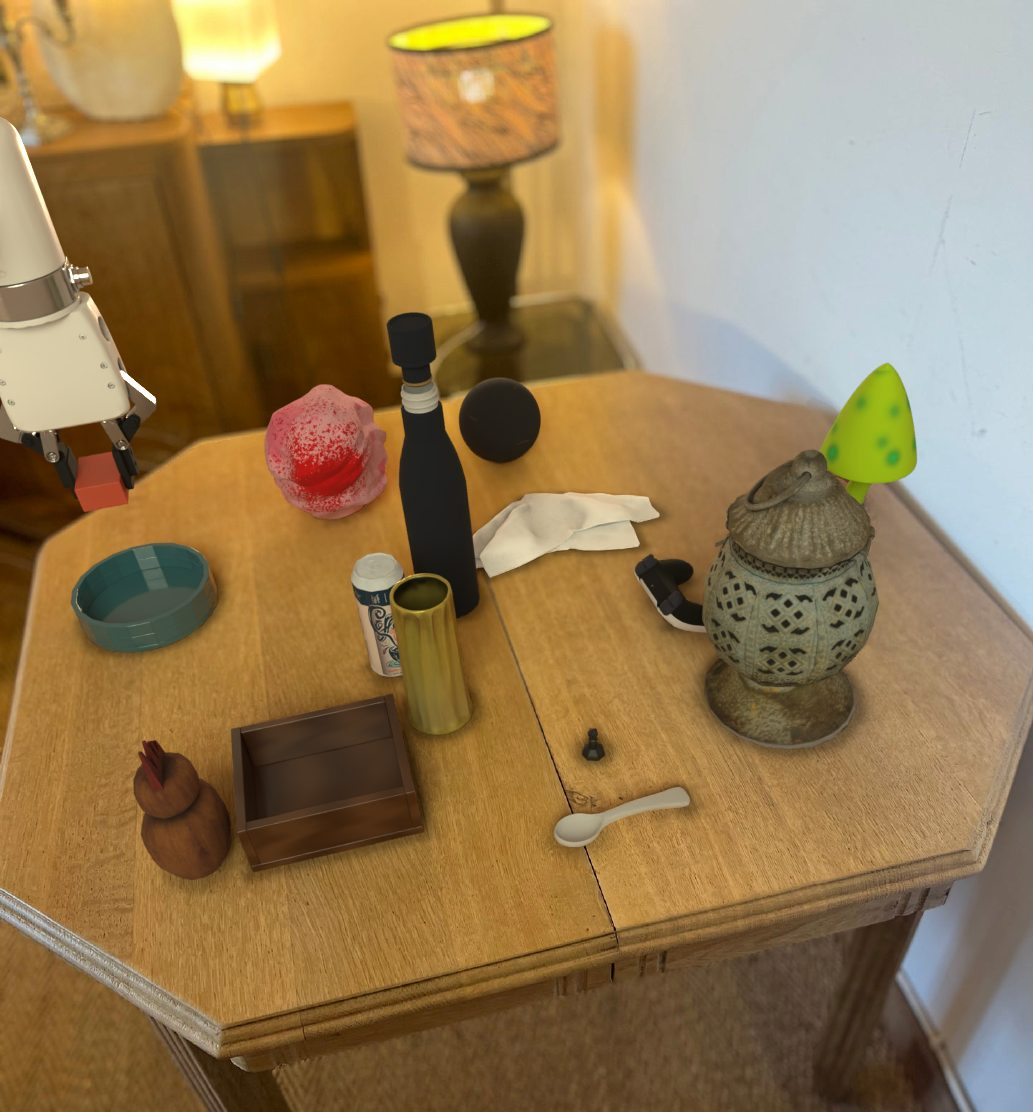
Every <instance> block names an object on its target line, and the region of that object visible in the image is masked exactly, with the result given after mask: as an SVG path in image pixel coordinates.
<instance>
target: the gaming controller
mask: <svg viewBox="0 0 1033 1112" xmlns="http://www.w3.org/2000/svg"><path fill="white" fill-rule="evenodd" d="M633 574H634V576H635V577H636V579H637V582H638V583H639V584H641V586H642V588H643V590H644V591H645V592H646V594H647V596H648V597H649V599H650V600H651V602H652V604H653V605H654V607H655V608H656V610H657V612H658V613H659V614H660V615H661V616H662V619H663V620H664V621H666V622H668V623H669V624H670V626H671V627H672V628H674V629H679V630H682V631H686V632H691V633H702V634H704V633H705V634H707V631H706V628H705V625H704V623H703V620H702V616H703V603H702V604H700V603H698V602H694V601H691V600H688V599H687V597H686V596H685V594H684V593H683V592H682V590H681V589H680V587H679V585H683V584H684V583H687V582H689V580H691V578H692V577H693V575H694V567H693V565H692V564H691V563H690V562H688V561H686V560H684V559H680V558H666V559H665V558H664V559H658V558H656V557H655V556H654V554H652V553H649V554H647V555H646V556H645V557H643V558H642V560H640V561H638V562H637V563H636V565H635V566H634V569H633Z"/></svg>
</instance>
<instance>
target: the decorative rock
mask: <svg viewBox="0 0 1033 1112" xmlns="http://www.w3.org/2000/svg"><path fill="white" fill-rule="evenodd" d="M387 438H388V436H387V431H385V430H384V429H382V428H381V427H380V426H378V425H377V424H376V423H375V414H374V408H373V406H371V405H370V404H369V403H367V401H364V400H362V398H361V399H360V398H359V397H356V396H351V395H348V394H346V393H344V391H342V390H340V389H338V388H337V387H335V386H333V385H332V384H325V383H324V384H318V385H316V386H314V387H312V388H311V389H310V390H309V392H308V393H305V395H303V396H302V397H300V398H298V399H296V400H293V401H292V402H290V403H288V404H286V405H284V406H282V407H281V408H279V409H277V410H276V411H274V412H273V413H272V415H271V417H270V421H269V423H268V425H267V428H266V432H265V436H264V457H265V464H266V466H267V470H268V471H269V473H270V475H271V476H272V477H273V480H274V484H275V485H276V486H277V487H278V489H280V491H281V494H282V496H283V498H284V499H285V501H286V502H287V504H289V505H290V506H292V507H294V508H296V509H298V510H300V511H303V512H306V513H308V514H310V515H311V516H313V517H314V518H316V519H322V520H341V519H343V518H346V517H348V516H351V515H353V514H355V513H356V512H358V511H360V510H361V509H362V508H363V507H364V506H365V505H368V504H371V503H373V501H374V500H376V499H377V498H378V497H379V496H380V495H381V494H383V493H384V492H385V489H386V487H387V485H388V477H387V473H386V469H387V468H386V467H387V463H388V457H389V456H388V451H387V449H386V447H385V443H386V442H387Z"/></svg>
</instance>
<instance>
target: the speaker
mask: <svg viewBox="0 0 1033 1112" xmlns="http://www.w3.org/2000/svg"><path fill="white" fill-rule="evenodd" d="M541 423H542V415H541V410H540V407H539V404H538V402H537V400H536V398H535V396H534V395H533V393H532V392H531V391H530V390H529V389H528V388H527V387H526V386H525V385H524V384H522V383H521V382H519V381H517V380H515V379H513V378H507V377H492V378H488V379H485V380H483V381H481V382H478V383H477V384H476V385H474V386H473V387H472V388H471V389H470V390H469V391H468V392H467V393H466V395H465V396H464V399H463V400H462V403H461V405H460V408H459V413H458V428H459V432H460V435H461V438H462V441H463V442H464V443H465V445H466V446H467V447H468V449H469V450H470V451H471V453H473V454H474V455H475V456H477V457H479V458H480V459H482V460H484V461H487V462H490V463H497V464H498V463H499V464H503V463H510V462H512V461H515V460H518V459H520V458H521V457H524V455H526V454H527V453H528V452H529V451H530V450H531V449H532V447H534V445H535V443H536V442H537V439H538V437H539V434H540V431H541V426H542V425H541Z"/></svg>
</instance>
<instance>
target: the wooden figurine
mask: <svg viewBox="0 0 1033 1112" xmlns="http://www.w3.org/2000/svg"><path fill="white" fill-rule="evenodd" d="M141 744H142V748H143V751H144V752H143V751H142V750H139V751H138V753H137V755H138V757H139V760H140V762H141V764H140V765H139V767H137V769H136V771H135V774H134V777H133V779H132V781H133V784H132V785H133V787H132V788H133V790H132V791H133V795H134V798H135V800H136V802H137V804H138V806H139V808H140V809H141V810H142V811H143V812H144V813H143V815H142V822H141V830H140V835H141V840H142V843H143V845H144V847H145V848H146V851H147V852H148V854H149V855H150V857H151V859H152V860H153V862H154V863H155V864H156V865H157V866H158V867H159V868H160V869H162V870H163V871H165V872H166V873H169V874H171V875H173V876H175V877H177V878H181V879H183V880H190V881H194V880H198V879H202V878H205V877H207V876H209V875H211V874H213V873H214V872H215V871H217V869H218V868H219V867H220V866H221V865H222V864H223V862H224V861H225V859H226V858H227V856H228V854H229V850H230V845H231V818H230V813H229V810H228V808H227V805H226V803H225V801H224V799H223V798H222V797H221V795H220V793H219V792H218V789H216V788H215V787H214V785H212V784H211V783H210V782H208V781H206V780H204V779H203V778H200V776H199V774H198V771H197V769H196V768H195V766H194V765H193V763H192V761H191V760H190V759H189V758H187V757H186V756H185V755H184V754H182V753H180V752H172V751H171V752H166V751H165V750H164V749H163V747H162V745H161V744H160V743H159V742H158V740H157V739H152V740H148V741H146V740H145V739H144V740H142V741H141Z"/></svg>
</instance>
